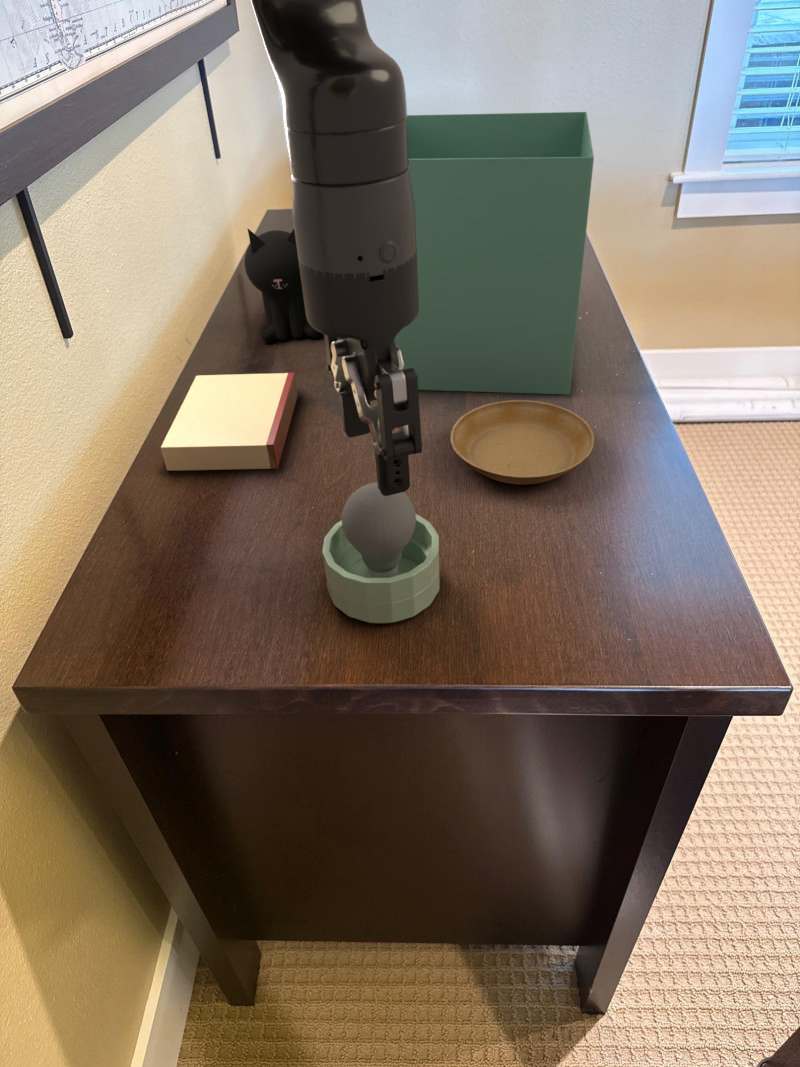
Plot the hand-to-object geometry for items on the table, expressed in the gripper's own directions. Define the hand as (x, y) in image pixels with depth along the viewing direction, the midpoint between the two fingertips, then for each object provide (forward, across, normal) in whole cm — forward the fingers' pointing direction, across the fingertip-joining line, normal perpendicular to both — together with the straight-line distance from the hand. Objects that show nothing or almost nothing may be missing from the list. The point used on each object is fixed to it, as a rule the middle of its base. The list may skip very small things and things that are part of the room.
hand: (375, 460), depth 59 cm
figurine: (+13, -54, +8) cm, 56 cm away
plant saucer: (+14, -14, +20) cm, 28 cm away
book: (+13, -32, -7) cm, 35 cm away
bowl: (+13, 0, 0) cm, 13 cm away
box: (+14, -38, +26) cm, 48 cm away
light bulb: (+13, 0, 0) cm, 13 cm away
